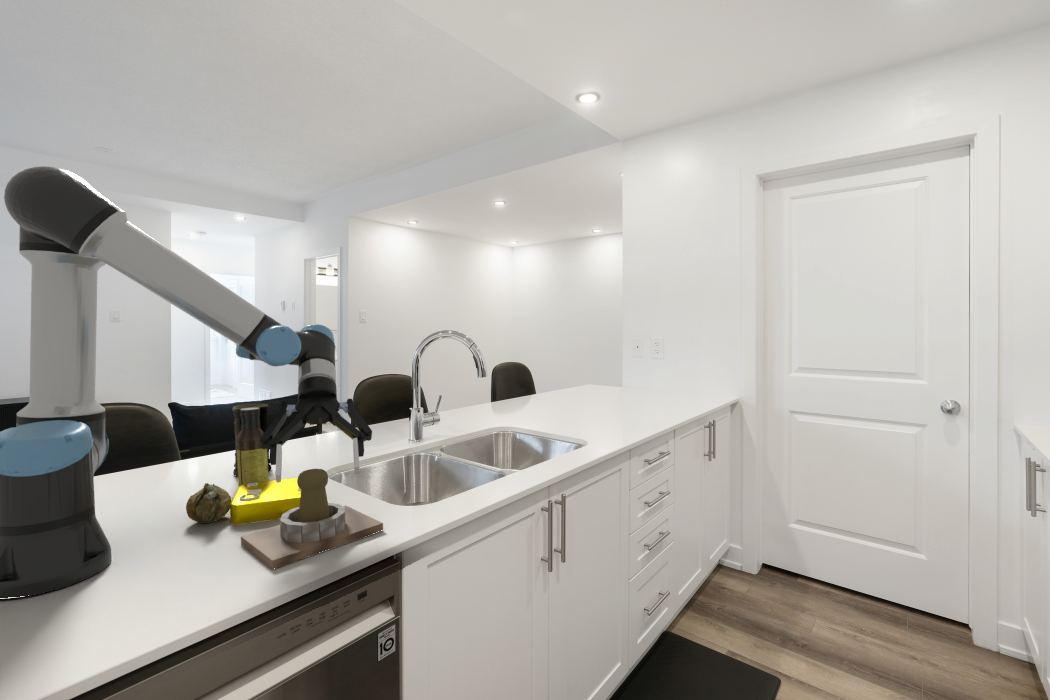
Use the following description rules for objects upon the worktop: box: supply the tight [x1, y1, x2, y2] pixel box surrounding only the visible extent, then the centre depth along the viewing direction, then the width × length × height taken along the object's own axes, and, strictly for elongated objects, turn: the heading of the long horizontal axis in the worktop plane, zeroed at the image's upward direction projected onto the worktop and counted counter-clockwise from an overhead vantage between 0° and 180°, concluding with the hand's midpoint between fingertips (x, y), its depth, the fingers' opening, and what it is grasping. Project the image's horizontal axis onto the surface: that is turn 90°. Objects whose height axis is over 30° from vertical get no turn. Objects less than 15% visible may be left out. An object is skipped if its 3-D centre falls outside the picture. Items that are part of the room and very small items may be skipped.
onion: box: [185, 482, 232, 524], centre depth 100 cm, size 8×8×8 cm
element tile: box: [229, 477, 301, 525], centre depth 106 cm, size 15×15×5 cm
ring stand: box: [240, 502, 384, 570], centre depth 91 cm, size 20×14×4 cm
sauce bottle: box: [237, 408, 270, 487], centre depth 116 cm, size 6×6×20 cm
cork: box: [297, 468, 330, 523], centre depth 91 cm, size 6×6×11 cm
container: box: [232, 403, 272, 477], centre depth 132 cm, size 9×9×18 cm
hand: (318, 474), depth 93 cm, fingers open, 13 cm apart
